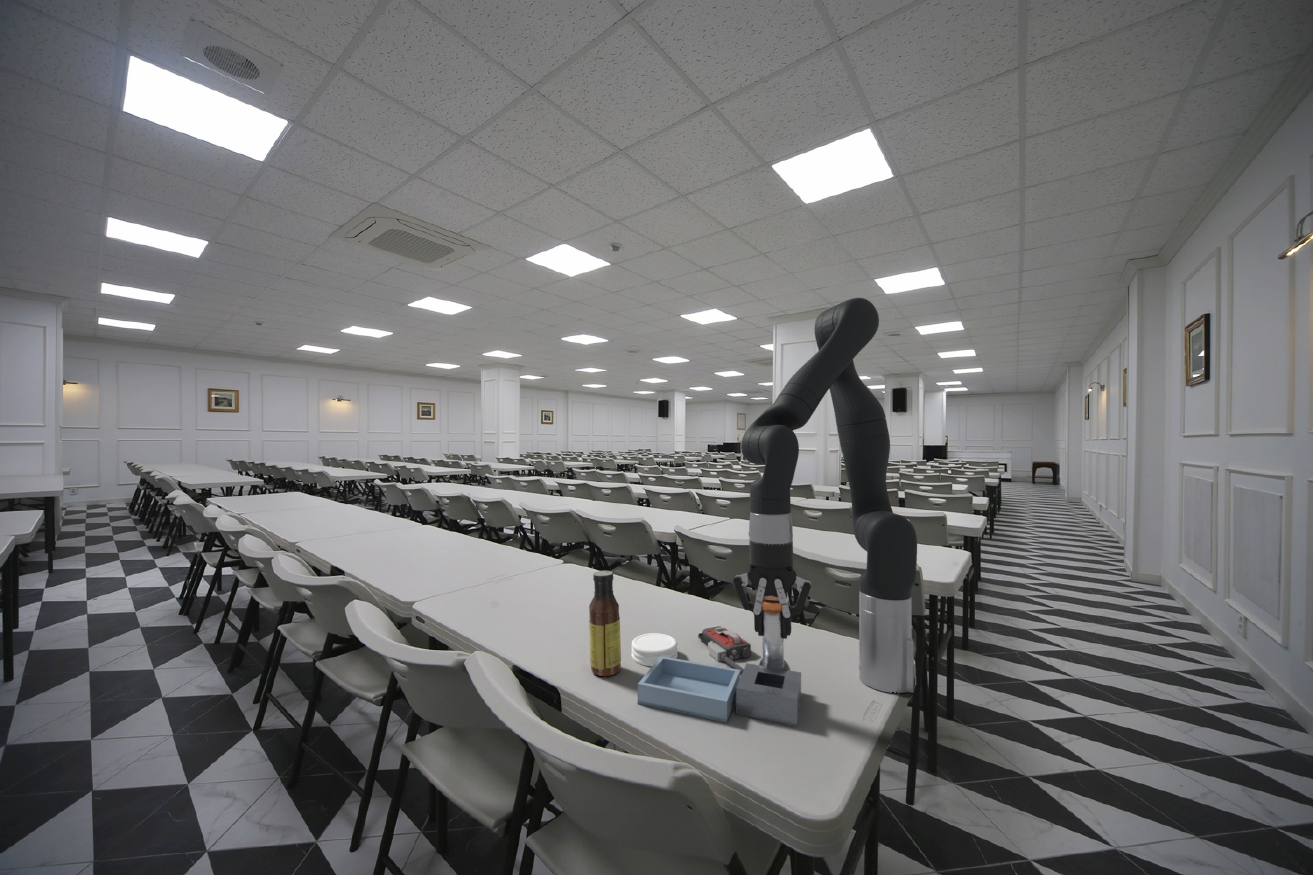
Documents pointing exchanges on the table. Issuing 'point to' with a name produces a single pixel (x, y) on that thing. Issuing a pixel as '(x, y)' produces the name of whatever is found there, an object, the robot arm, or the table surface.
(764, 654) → the lock pin
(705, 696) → the tray
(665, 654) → the white round disc stack
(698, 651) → the table surface
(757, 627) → the robot arm
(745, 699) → the block
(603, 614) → the sauce bottle
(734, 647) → the walkie-talkie
